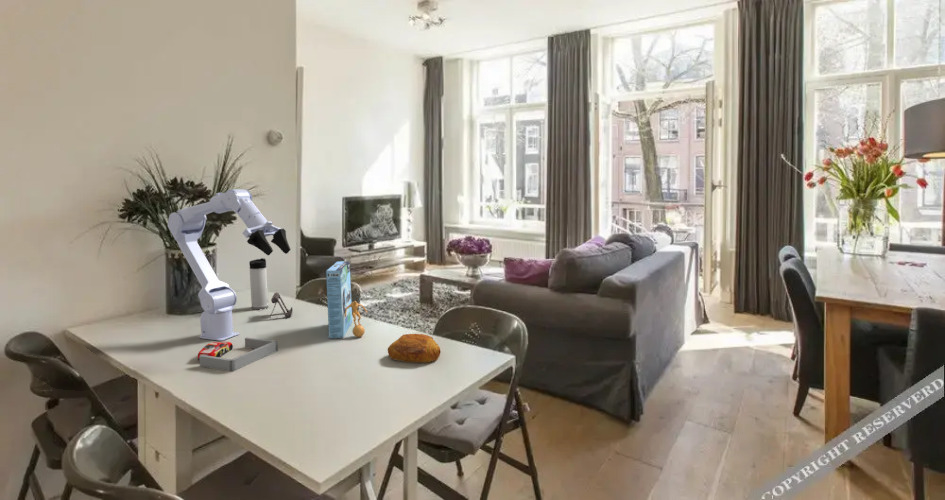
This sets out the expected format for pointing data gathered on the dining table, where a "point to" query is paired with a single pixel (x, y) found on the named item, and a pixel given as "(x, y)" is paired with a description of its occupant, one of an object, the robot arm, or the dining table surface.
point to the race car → (216, 349)
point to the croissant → (414, 349)
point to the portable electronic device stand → (275, 300)
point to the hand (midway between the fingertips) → (279, 252)
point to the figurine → (358, 329)
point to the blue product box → (339, 299)
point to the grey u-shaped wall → (260, 351)
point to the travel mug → (258, 284)
